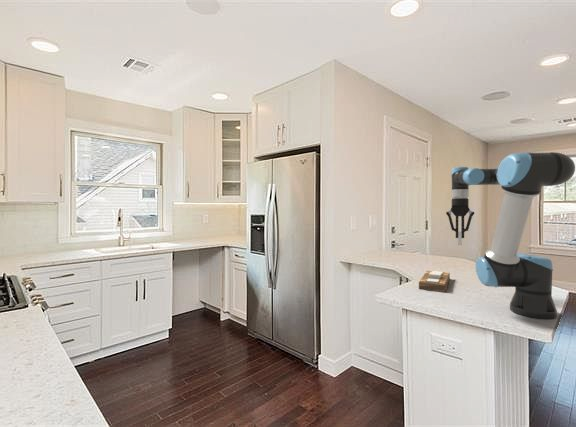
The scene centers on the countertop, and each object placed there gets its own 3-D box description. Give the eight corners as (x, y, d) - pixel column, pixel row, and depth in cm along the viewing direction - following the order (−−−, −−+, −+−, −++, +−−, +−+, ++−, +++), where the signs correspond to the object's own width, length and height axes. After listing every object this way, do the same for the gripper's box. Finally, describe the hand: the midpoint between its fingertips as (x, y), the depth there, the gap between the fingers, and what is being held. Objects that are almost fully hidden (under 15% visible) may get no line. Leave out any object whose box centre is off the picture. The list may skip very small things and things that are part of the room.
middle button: (440, 280, 171) (440, 275, 171) (429, 279, 173) (429, 274, 173) (441, 278, 175) (441, 273, 175) (430, 276, 178) (430, 272, 178)
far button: (441, 278, 179) (442, 273, 179) (431, 277, 182) (431, 272, 182) (442, 276, 184) (442, 271, 184) (432, 275, 187) (432, 270, 187)
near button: (438, 287, 162) (438, 281, 162) (426, 285, 165) (426, 280, 165) (439, 284, 167) (439, 279, 167) (427, 283, 169) (427, 278, 169)
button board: (444, 292, 158) (444, 284, 158) (418, 289, 165) (418, 281, 164) (449, 279, 184) (449, 272, 184) (426, 276, 190) (427, 270, 190)
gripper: (474, 197, 163) (474, 244, 163) (445, 198, 169) (445, 243, 169) (475, 197, 156) (475, 246, 157) (445, 198, 162) (445, 244, 163)
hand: (459, 244), depth 163 cm, fingers closed
